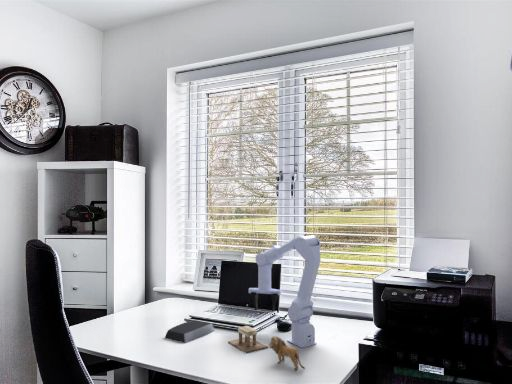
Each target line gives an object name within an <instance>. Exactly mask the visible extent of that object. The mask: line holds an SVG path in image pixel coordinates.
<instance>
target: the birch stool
mask: <svg viewBox="0 0 512 384" xmlns="http://www.w3.org/2000/svg"><path fill="white" fill-rule="evenodd" d="M237 332H238V339H239V343H242V338H243V335H244V338H245V341H246V347H250V338H251V337H252V339H253V346H255V345H256V341H257V335H258V330H257V329H256V328H253V327H251V326H249V325H244V326H239V327H237Z"/></svg>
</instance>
